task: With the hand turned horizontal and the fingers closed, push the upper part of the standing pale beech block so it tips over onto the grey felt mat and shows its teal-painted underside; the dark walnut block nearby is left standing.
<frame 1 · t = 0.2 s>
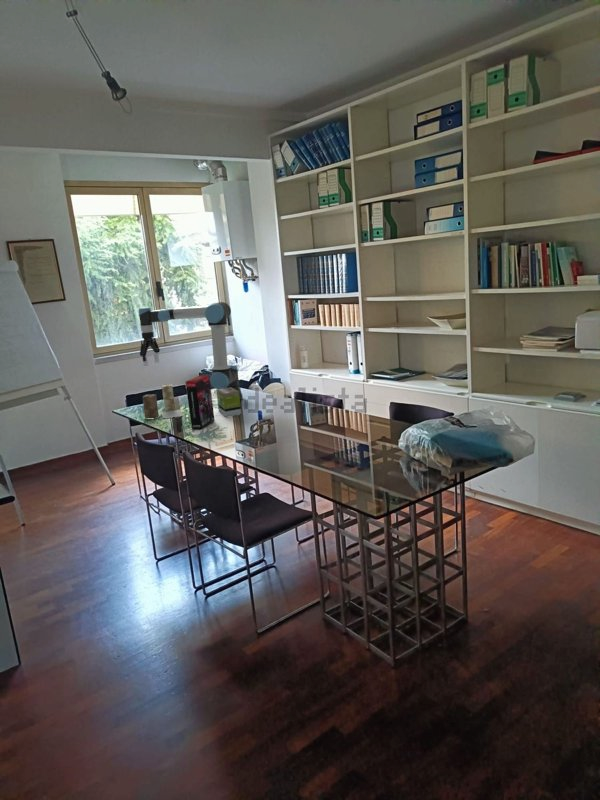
hand: (151, 364, 382), 28 cm above the table, tool pointing down, fingers open, 13 cm apart
tea box: (229, 414, 351), on the table
graphics card box: (203, 426, 328), on the table
grey felt mat: (171, 414, 359), on the table
walnut block: (152, 417, 354), on the table
beech block: (170, 410, 371), on the table
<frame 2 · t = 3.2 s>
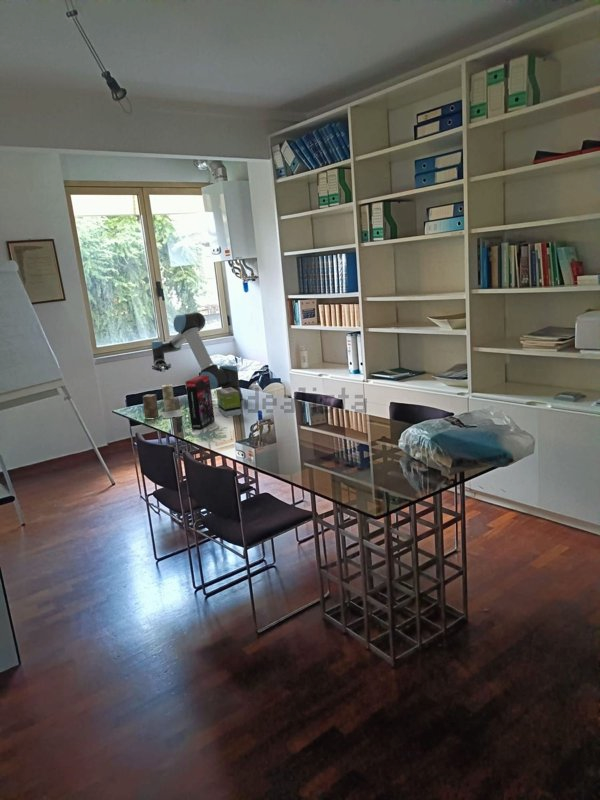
hand: (163, 370, 380), 24 cm above the table, tool horizontal, fingers closed
nothing on the table moved.
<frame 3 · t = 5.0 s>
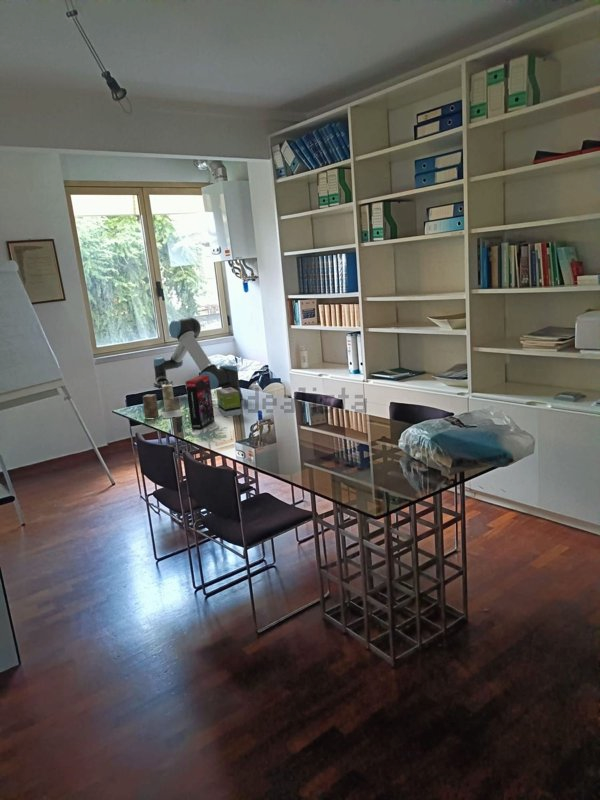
hand: (165, 388, 381), 12 cm above the table, tool horizontal, fingers closed
nothing on the table moved.
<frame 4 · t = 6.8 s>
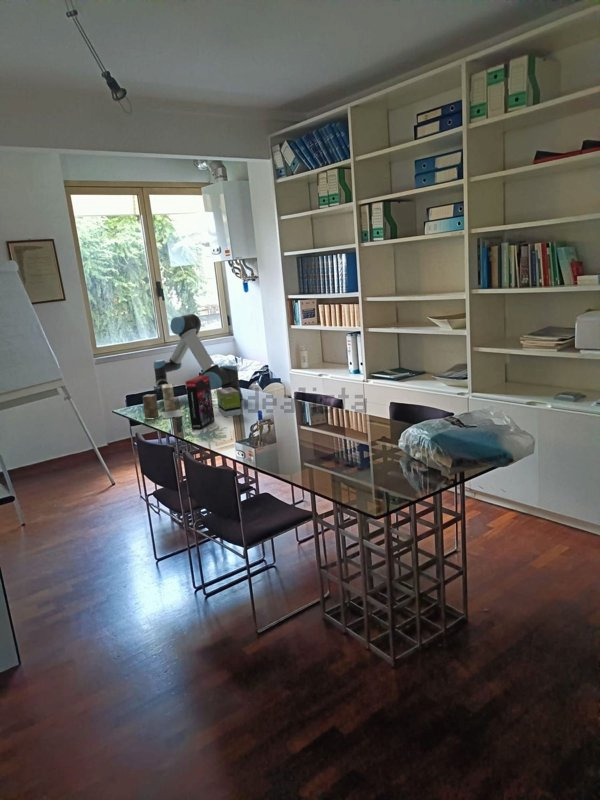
hand: (165, 391, 370), 12 cm above the table, tool horizontal, fingers closed
beech block: (169, 409, 371), point 1 cm above the table, tilted 11°
everything else where it was.
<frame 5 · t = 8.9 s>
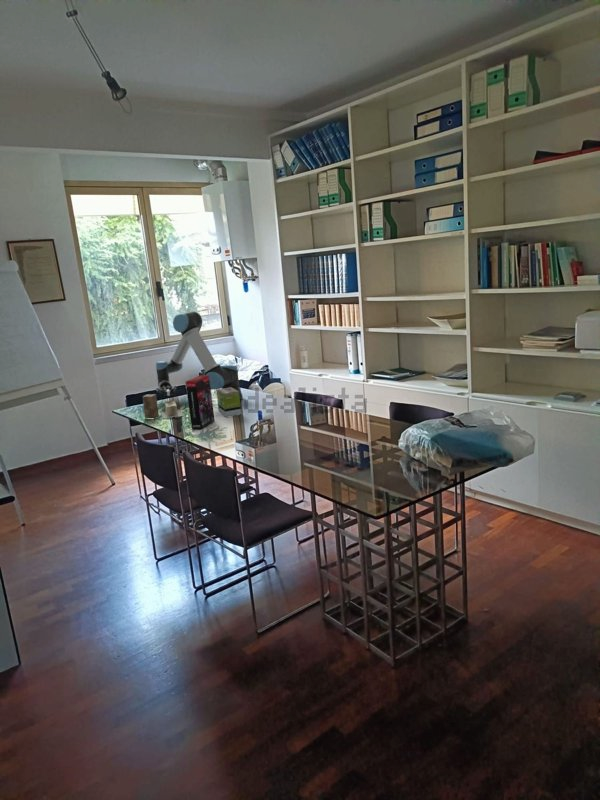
hand: (168, 393, 363), 12 cm above the table, tool horizontal, fingers closed
beech block: (169, 405, 368), point 3 cm above the table, tilted 90°, touching grey felt mat
everything else where it was.
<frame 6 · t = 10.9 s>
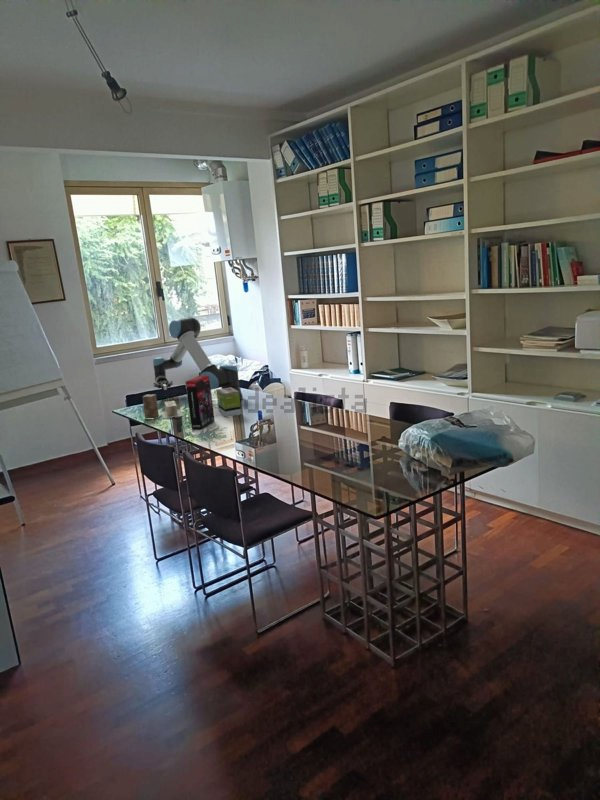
hand: (165, 387, 380), 12 cm above the table, tool horizontal, fingers closed
nothing on the table moved.
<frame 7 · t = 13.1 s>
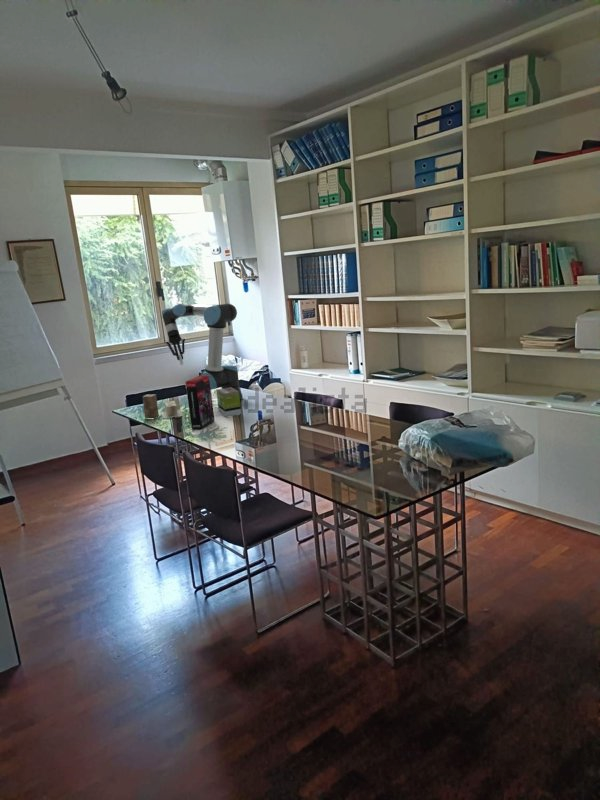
hand: (181, 364, 387), 26 cm above the table, tool tilted 25°, fingers closed
nothing on the table moved.
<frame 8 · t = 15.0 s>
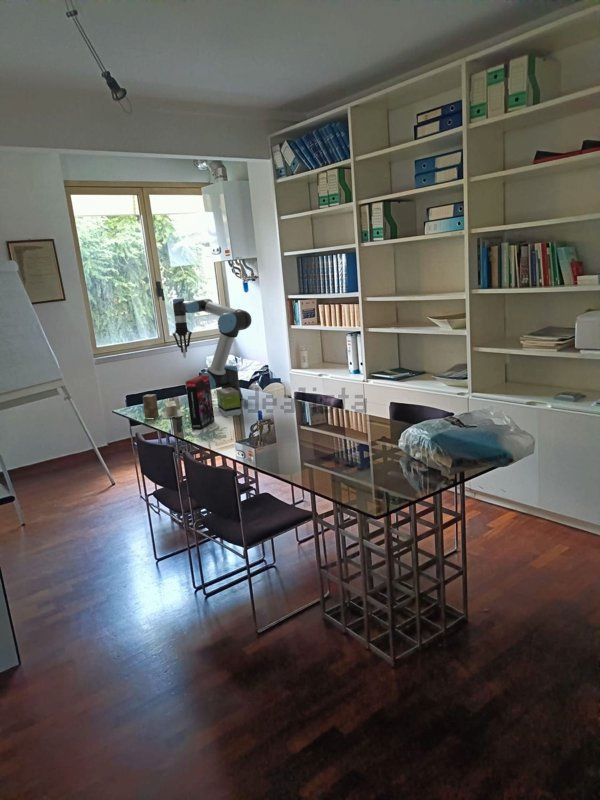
hand: (184, 357, 390), 29 cm above the table, tool pointing down, fingers closed
nothing on the table moved.
at the end: beech block tilted 90°; beech block inside the target area (2.5 cm from its centre), point 3.4 cm above the table; walnut block moved 0.0 cm from its start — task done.
